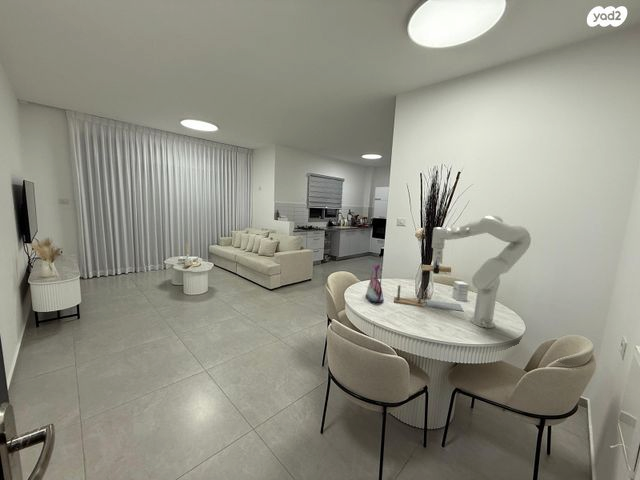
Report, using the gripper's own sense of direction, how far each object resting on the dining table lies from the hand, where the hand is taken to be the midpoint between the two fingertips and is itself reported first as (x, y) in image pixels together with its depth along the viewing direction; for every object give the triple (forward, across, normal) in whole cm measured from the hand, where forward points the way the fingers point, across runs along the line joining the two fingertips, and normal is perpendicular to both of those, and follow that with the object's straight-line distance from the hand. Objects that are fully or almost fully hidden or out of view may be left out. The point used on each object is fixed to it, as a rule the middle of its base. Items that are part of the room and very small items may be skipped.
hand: (435, 272), depth 180 cm
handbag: (+22, -4, +39) cm, 45 cm away
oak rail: (-1, 0, 0) cm, 1 cm away
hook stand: (+22, -1, +16) cm, 27 cm away
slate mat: (+23, +1, -7) cm, 24 cm away
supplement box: (+23, +20, -21) cm, 37 cm away
